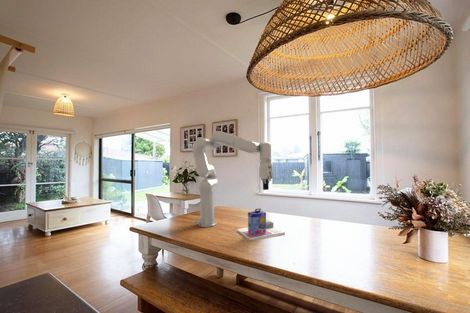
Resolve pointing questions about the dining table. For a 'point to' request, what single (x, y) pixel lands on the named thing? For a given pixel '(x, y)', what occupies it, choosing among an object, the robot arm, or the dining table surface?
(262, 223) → the ink cartridge box
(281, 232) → the picture board
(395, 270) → the dining table surface
